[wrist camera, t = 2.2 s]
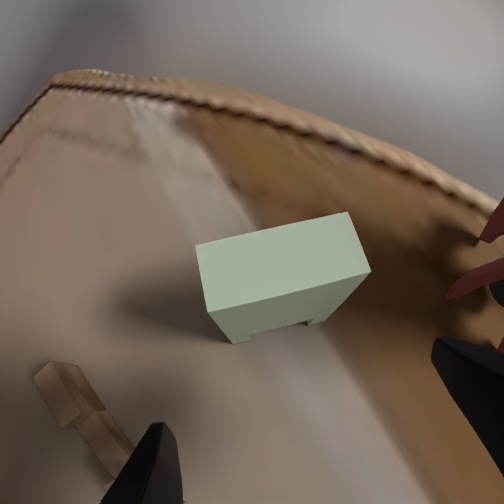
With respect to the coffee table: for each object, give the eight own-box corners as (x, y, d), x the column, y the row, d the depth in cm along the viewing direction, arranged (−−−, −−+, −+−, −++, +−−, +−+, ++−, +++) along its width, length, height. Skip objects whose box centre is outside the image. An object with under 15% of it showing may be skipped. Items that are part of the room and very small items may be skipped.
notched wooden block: (185, 502, 17) (171, 521, 13) (163, 514, 16) (147, 533, 13) (78, 365, 21) (50, 360, 18) (61, 380, 21) (32, 377, 17)
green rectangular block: (313, 284, 24) (347, 211, 14) (324, 321, 23) (371, 271, 13) (224, 306, 23) (195, 245, 13) (233, 344, 22) (207, 312, 12)
